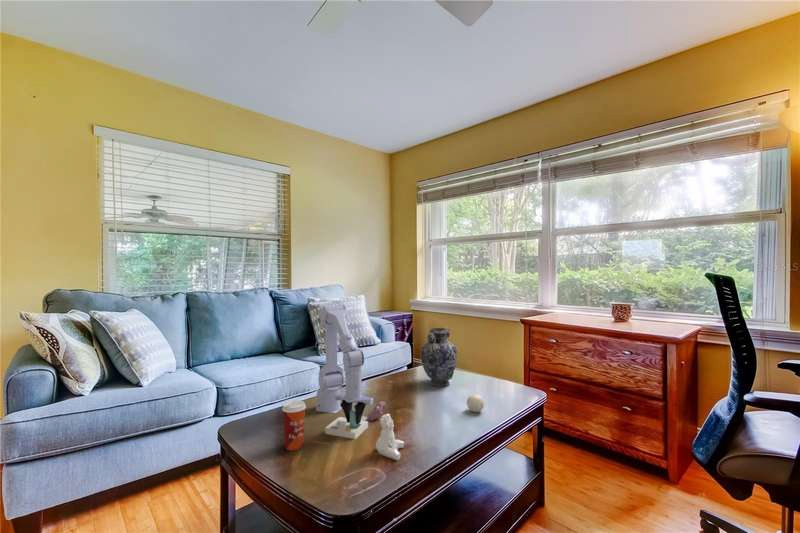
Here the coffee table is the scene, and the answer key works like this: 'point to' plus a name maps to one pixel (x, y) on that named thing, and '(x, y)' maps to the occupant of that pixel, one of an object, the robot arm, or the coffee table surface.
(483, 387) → the coffee table surface
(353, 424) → the plug
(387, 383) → the coffee table surface
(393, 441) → the white creature statuette
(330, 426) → the socket board
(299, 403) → the paper cup
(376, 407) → the video game controller
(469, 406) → the baseball
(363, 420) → the mat
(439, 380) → the decorative vase
